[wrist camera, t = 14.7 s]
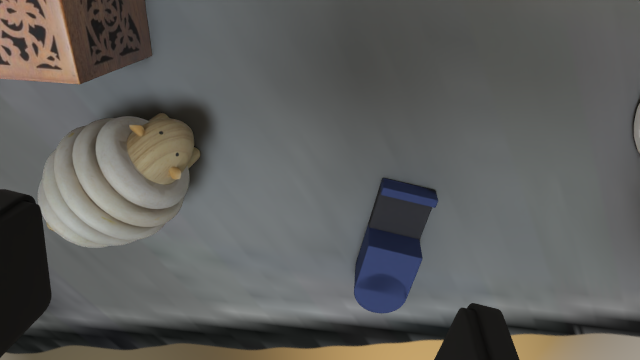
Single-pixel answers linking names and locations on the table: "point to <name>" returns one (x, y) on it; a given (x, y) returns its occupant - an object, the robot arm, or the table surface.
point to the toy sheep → (117, 179)
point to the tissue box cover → (70, 38)
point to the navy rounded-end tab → (392, 245)
